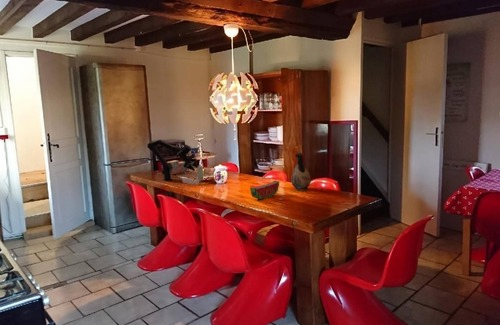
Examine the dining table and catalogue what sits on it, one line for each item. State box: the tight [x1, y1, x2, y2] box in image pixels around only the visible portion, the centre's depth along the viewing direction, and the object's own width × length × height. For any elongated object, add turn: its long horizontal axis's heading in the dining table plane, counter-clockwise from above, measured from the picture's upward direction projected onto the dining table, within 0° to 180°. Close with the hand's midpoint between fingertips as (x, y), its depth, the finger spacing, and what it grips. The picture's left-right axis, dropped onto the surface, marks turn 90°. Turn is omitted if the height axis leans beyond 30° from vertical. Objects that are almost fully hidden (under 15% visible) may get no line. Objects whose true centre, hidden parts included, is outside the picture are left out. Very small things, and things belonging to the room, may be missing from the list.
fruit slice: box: [249, 180, 280, 200], centre depth 273 cm, size 26×6×10 cm, turn 134°
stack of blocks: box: [166, 160, 187, 176], centre depth 375 cm, size 21×6×12 cm, turn 142°
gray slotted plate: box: [196, 165, 204, 182], centre depth 335 cm, size 6×3×13 cm, turn 165°
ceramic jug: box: [290, 152, 312, 192], centre depth 288 cm, size 17×15×30 cm
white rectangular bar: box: [181, 177, 200, 186], centre depth 327 cm, size 18×2×4 cm, turn 55°
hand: (196, 169), depth 335 cm, fingers open, 9 cm apart
